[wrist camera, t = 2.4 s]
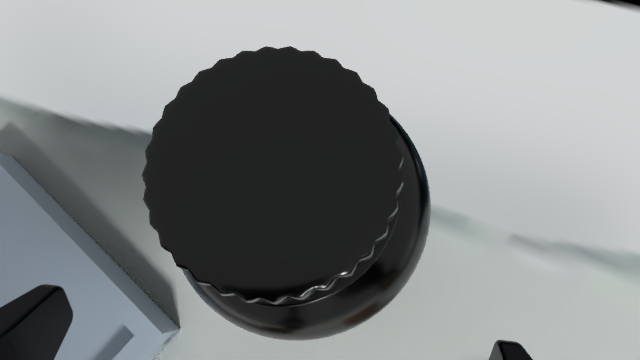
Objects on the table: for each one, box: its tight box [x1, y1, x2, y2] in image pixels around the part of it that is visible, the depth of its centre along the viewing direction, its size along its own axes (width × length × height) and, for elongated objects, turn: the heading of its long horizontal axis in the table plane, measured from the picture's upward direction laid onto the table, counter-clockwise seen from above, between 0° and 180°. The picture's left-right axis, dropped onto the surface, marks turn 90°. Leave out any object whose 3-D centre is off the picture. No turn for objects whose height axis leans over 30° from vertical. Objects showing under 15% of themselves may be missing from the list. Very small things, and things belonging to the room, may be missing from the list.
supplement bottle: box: [142, 46, 431, 340], centre depth 14 cm, size 7×7×12 cm
